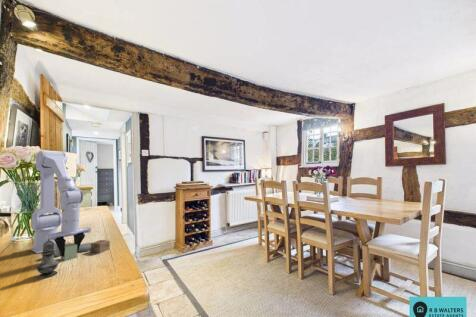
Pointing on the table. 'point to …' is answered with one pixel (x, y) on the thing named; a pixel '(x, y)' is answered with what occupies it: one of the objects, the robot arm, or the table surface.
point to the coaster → (85, 247)
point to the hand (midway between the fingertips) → (69, 254)
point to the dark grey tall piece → (47, 261)
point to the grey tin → (56, 251)
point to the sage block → (70, 251)
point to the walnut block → (100, 246)
